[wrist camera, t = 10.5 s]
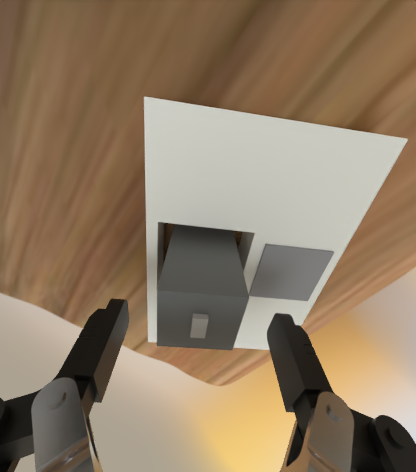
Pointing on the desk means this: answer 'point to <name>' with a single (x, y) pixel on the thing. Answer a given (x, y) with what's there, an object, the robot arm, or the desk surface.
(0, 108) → the desk surface
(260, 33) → the desk surface
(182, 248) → the charger
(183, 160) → the outlet plate
